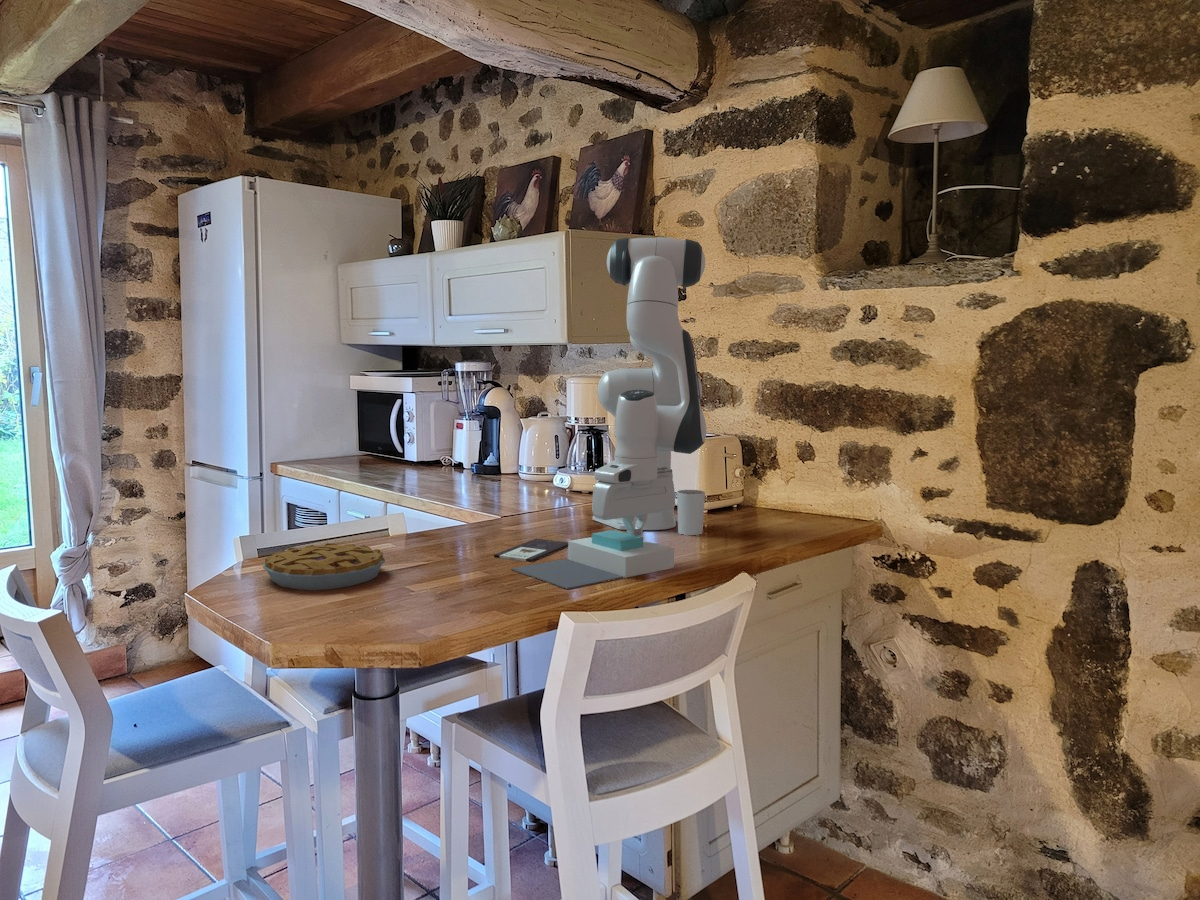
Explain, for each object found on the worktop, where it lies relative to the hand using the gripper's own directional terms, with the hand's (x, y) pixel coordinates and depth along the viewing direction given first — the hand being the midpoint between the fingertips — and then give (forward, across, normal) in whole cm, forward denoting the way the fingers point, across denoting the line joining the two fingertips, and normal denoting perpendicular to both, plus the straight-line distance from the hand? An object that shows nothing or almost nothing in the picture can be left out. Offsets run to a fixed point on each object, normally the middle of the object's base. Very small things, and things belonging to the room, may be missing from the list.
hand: (634, 536), depth 181 cm
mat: (+5, +17, 0) cm, 18 cm away
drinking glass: (+5, -30, -13) cm, 33 cm away
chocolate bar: (+6, +11, -20) cm, 24 cm away
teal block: (+1, +4, 0) cm, 5 cm away
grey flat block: (+5, +4, 0) cm, 6 cm away
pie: (+6, +55, -27) cm, 61 cm away
